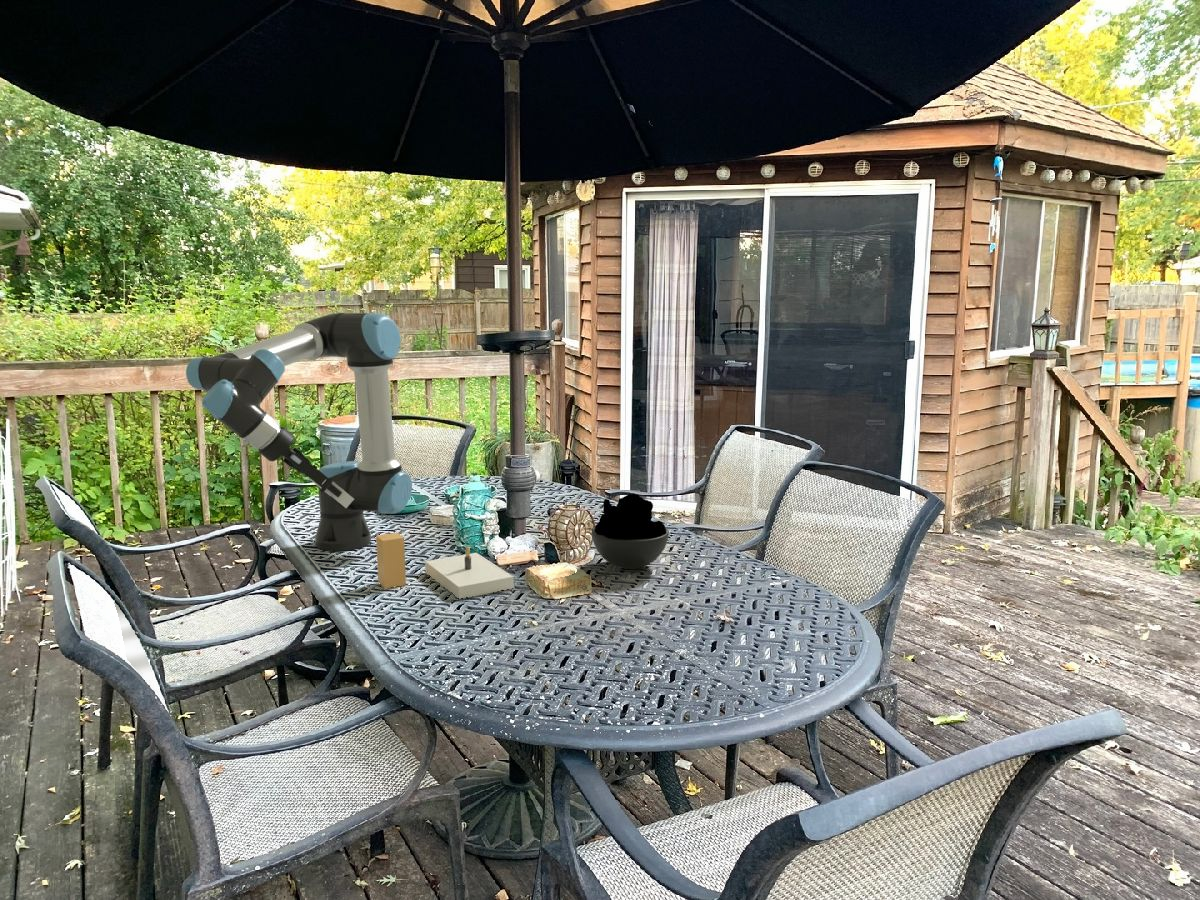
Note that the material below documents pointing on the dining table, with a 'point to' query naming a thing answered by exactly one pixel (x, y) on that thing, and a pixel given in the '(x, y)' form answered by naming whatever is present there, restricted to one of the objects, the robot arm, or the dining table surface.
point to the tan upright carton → (391, 560)
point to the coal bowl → (629, 533)
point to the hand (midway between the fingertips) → (341, 497)
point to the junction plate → (469, 575)
